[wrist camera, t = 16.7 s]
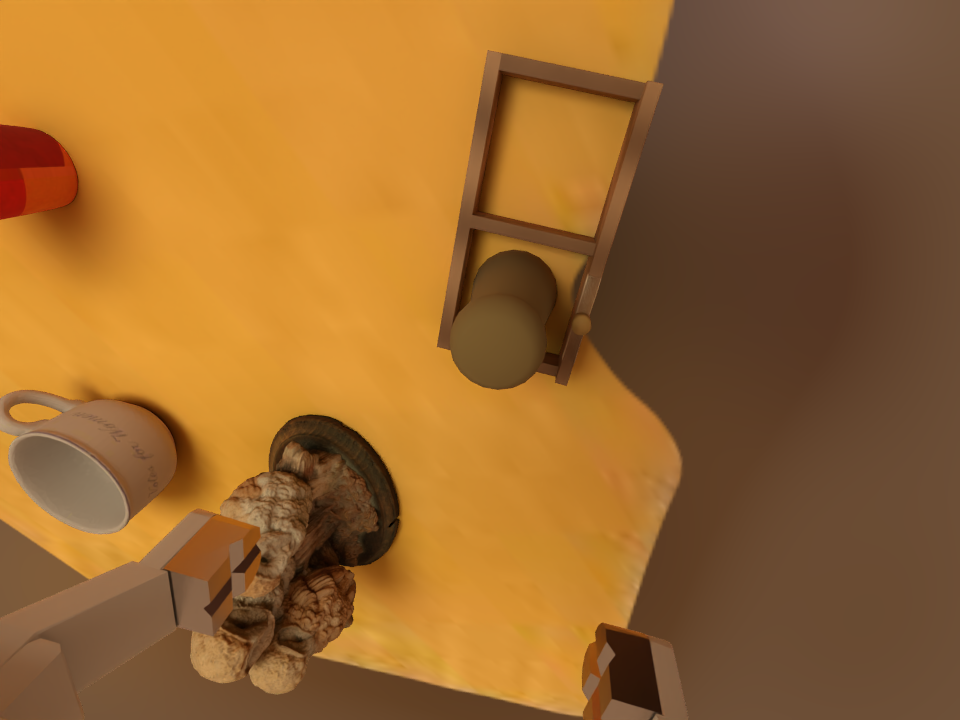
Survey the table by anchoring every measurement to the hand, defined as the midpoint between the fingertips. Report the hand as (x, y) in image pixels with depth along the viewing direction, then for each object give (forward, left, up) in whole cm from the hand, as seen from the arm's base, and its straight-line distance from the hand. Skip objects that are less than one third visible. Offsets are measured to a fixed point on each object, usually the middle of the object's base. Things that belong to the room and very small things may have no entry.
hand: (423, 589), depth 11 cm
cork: (0, 0, -25) cm, 25 cm away
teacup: (+22, -33, -25) cm, 47 cm away
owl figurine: (+24, -12, -25) cm, 36 cm away
